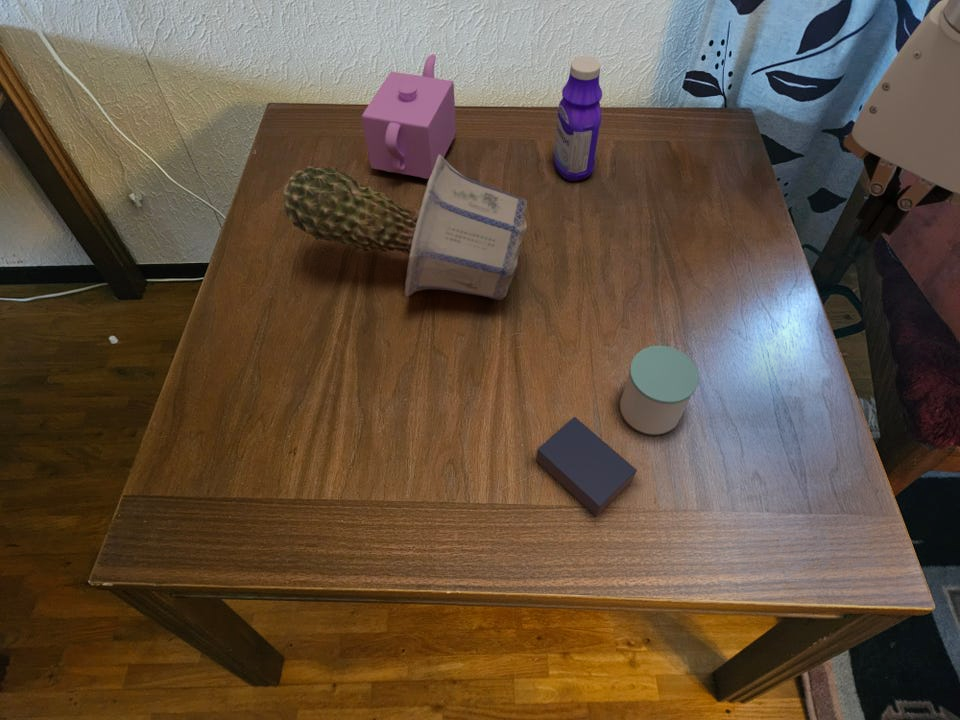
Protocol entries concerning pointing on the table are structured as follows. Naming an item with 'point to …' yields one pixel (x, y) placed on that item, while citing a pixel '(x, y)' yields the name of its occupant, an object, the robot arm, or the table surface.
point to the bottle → (579, 120)
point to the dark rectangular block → (585, 466)
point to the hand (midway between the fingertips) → (870, 231)
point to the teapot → (410, 122)
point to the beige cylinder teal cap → (658, 390)
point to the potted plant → (419, 226)
